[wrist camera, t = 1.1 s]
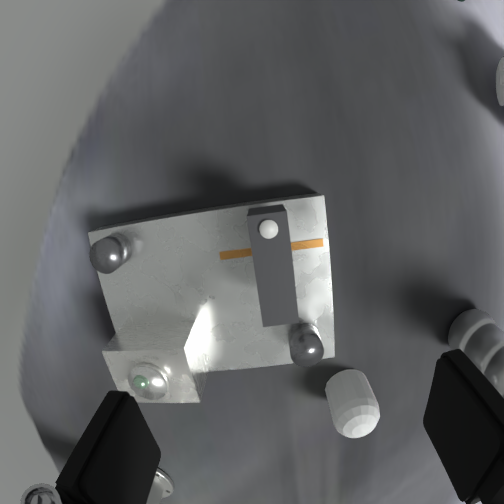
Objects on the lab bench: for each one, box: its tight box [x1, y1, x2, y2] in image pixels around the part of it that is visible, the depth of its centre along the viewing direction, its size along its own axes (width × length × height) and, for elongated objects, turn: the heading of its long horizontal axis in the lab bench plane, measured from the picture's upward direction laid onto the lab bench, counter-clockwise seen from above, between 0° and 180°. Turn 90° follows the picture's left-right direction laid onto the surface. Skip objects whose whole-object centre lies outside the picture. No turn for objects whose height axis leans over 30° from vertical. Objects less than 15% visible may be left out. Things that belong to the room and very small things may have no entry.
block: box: [247, 204, 299, 327], centre depth 24 cm, size 8×3×6 cm, turn 8°
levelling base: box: [88, 193, 335, 403], centre depth 27 cm, size 16×22×10 cm
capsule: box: [325, 369, 380, 438], centre depth 31 cm, size 5×5×8 cm
